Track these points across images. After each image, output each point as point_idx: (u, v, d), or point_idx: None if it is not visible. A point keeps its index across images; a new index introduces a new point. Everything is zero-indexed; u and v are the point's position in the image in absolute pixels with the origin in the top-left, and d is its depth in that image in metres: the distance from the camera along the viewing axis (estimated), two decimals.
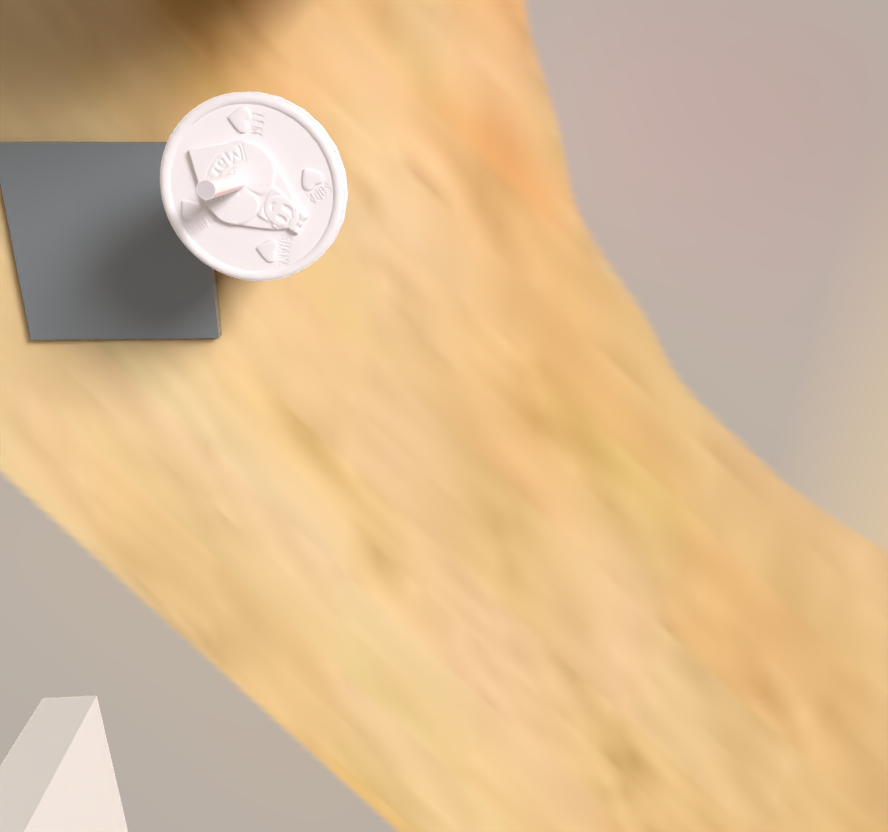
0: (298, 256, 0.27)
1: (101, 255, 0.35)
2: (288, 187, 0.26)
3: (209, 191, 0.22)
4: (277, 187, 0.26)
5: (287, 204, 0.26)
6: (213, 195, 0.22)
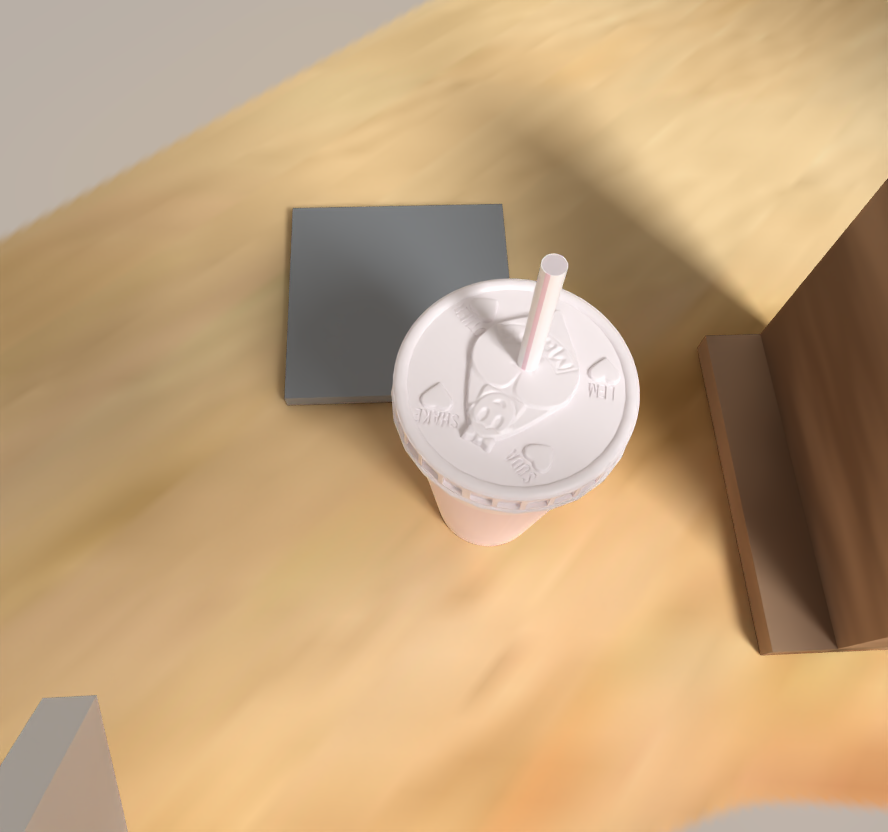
0: (429, 437, 0.18)
1: (388, 284, 0.31)
2: (526, 426, 0.18)
3: (551, 270, 0.15)
4: (524, 411, 0.19)
5: (503, 422, 0.18)
6: (547, 272, 0.15)
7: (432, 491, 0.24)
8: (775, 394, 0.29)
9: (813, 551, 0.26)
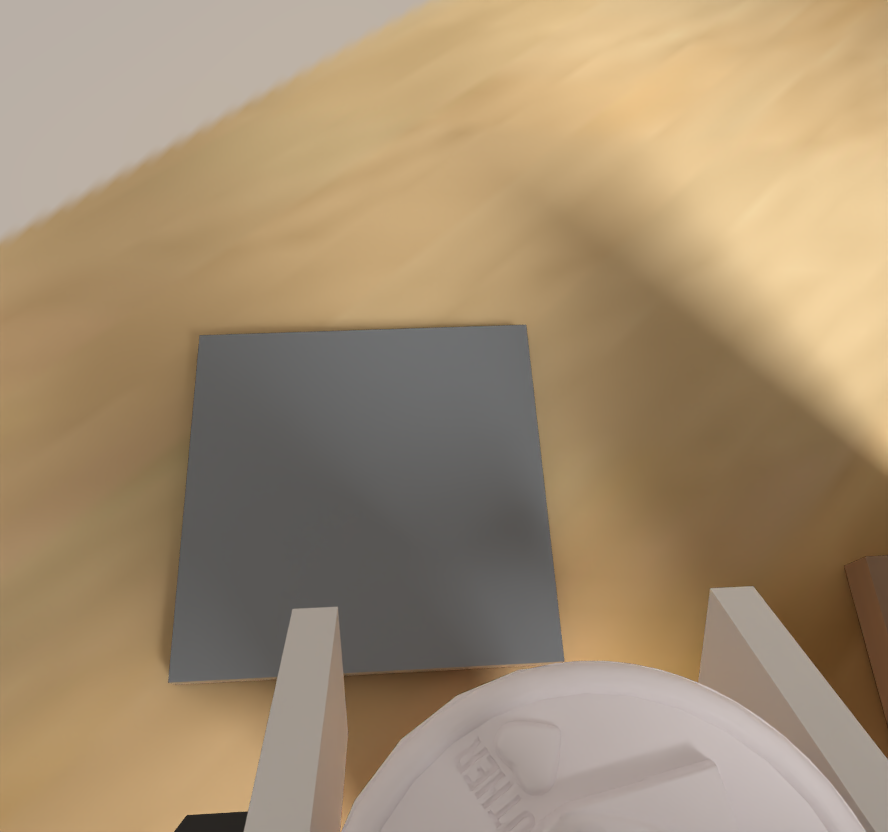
0: None
1: (347, 465, 0.19)
2: None
3: None
4: None
5: None
6: None
7: None
8: None
9: None
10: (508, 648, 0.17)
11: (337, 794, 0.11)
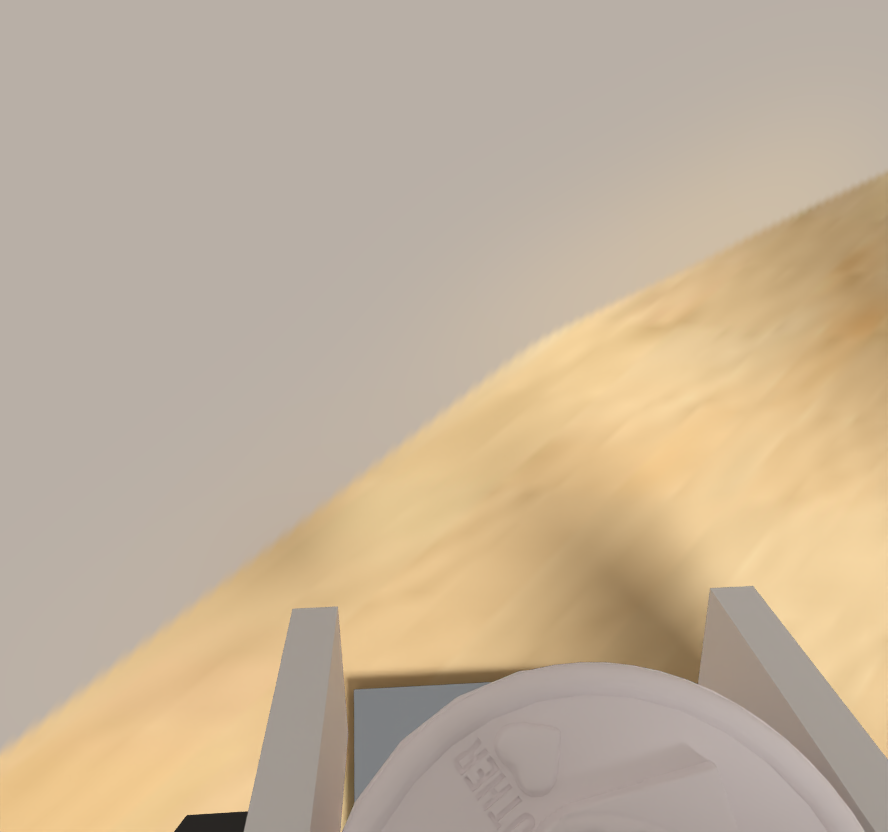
0: None
1: None
2: None
3: None
4: None
5: None
6: None
7: None
8: None
9: None
10: None
11: (337, 794, 0.11)
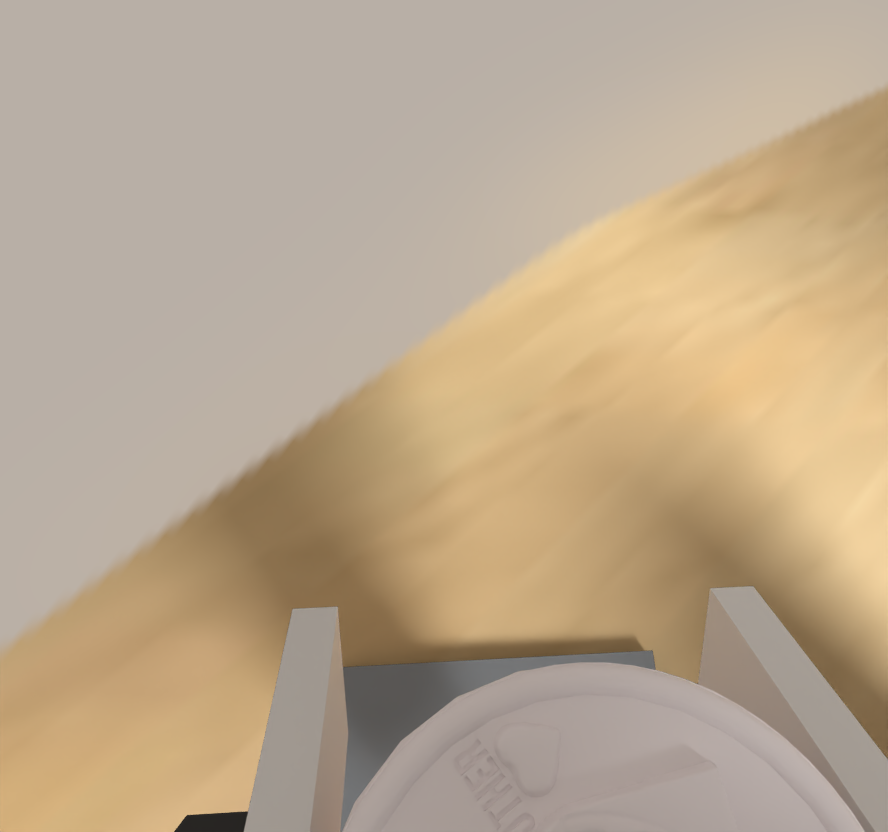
0: None
1: None
2: None
3: None
4: None
5: None
6: None
7: None
8: None
9: None
10: None
11: (337, 794, 0.11)
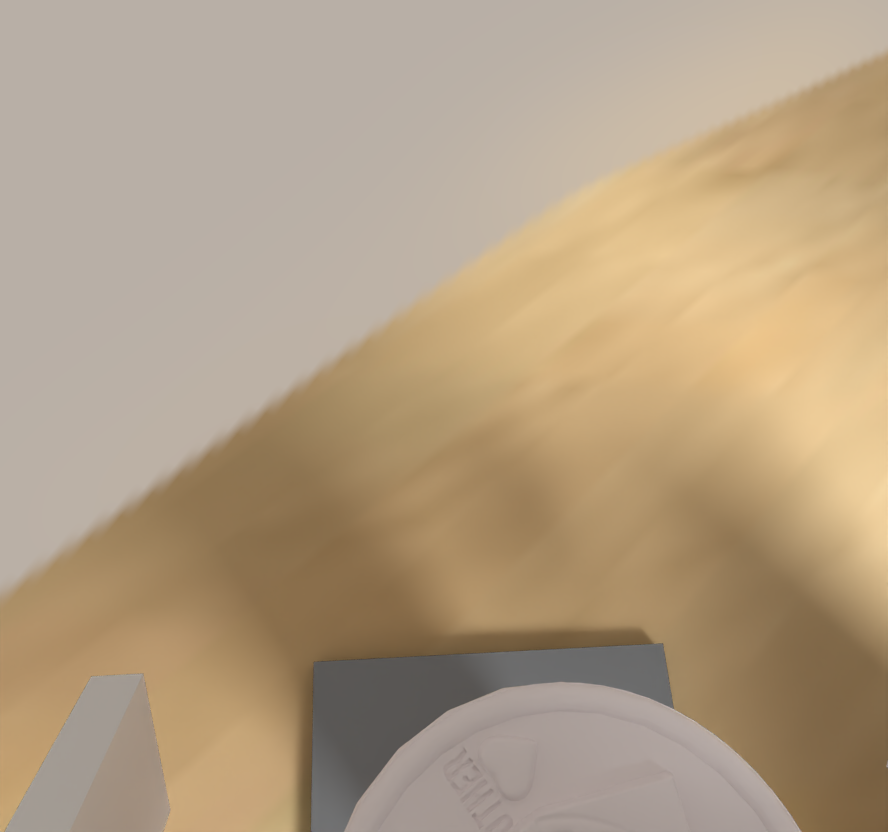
0: None
1: None
2: None
3: None
4: None
5: None
6: None
7: None
8: None
9: None
10: None
11: None
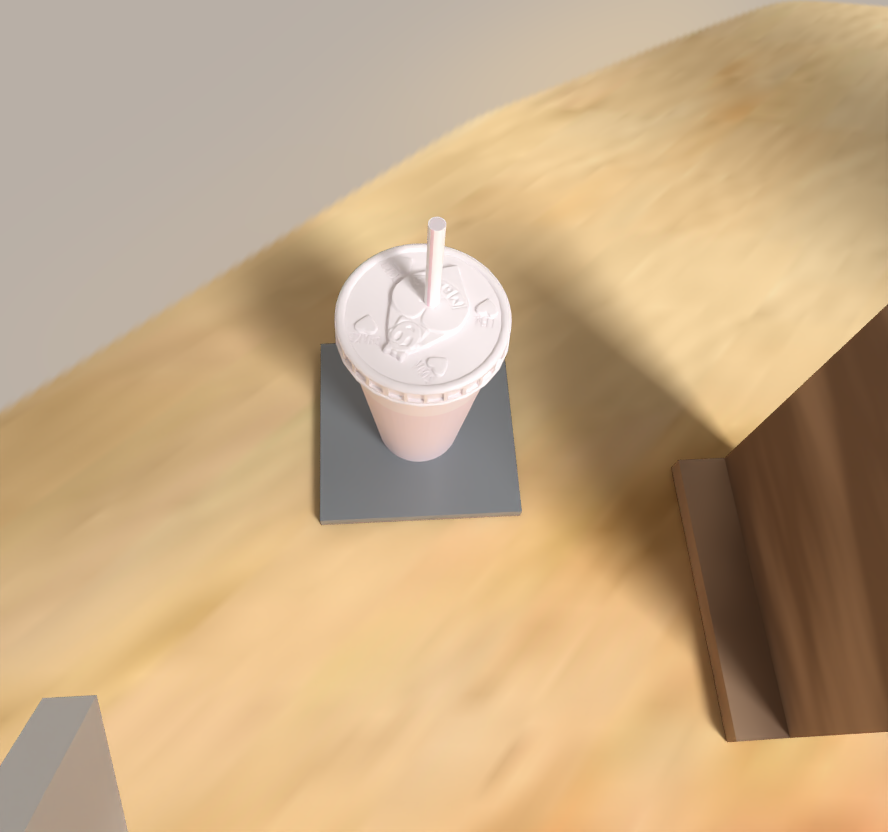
0: (360, 351, 0.26)
1: None
2: (428, 345, 0.26)
3: (435, 228, 0.23)
4: (428, 334, 0.26)
5: (412, 341, 0.26)
6: (432, 228, 0.23)
7: None
8: (737, 512, 0.34)
9: (770, 652, 0.31)
10: (493, 505, 0.34)
11: None
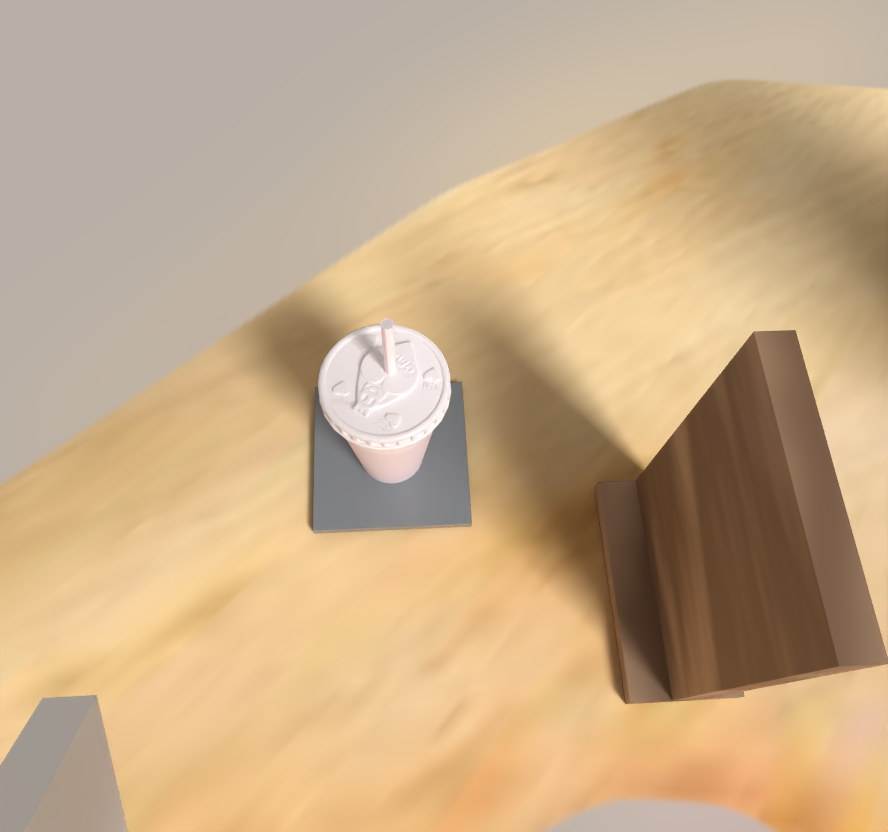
0: (336, 409, 0.35)
1: None
2: (387, 404, 0.35)
3: (385, 326, 0.32)
4: (386, 395, 0.35)
5: (374, 401, 0.35)
6: (383, 327, 0.32)
7: None
8: (643, 525, 0.43)
9: (661, 635, 0.40)
10: (449, 518, 0.43)
11: None
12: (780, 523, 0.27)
